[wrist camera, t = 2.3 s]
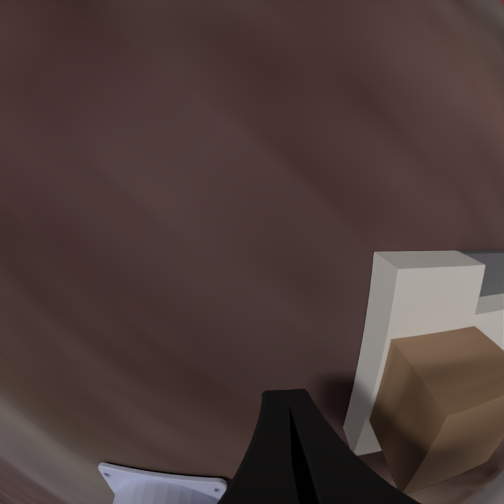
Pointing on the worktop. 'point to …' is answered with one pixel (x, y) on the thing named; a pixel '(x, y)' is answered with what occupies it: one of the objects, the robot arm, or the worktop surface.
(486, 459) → the walnut block
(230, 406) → the worktop surface
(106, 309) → the worktop surface
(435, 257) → the board
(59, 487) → the worktop surface
